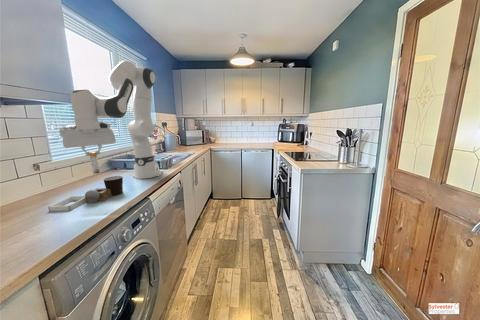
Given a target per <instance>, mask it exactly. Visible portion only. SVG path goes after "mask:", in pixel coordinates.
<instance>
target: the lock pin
mask: <svg viewBox="0 0 480 320" xmlns="http://www.w3.org/2000/svg"><path fill="white" fill-rule="evenodd" d="M89 154H90V156H89V160H90V164H91V169H92V174H94V175H95V174H101V171H100V164H99V158H98V155H97V154H96V151H93V152H89Z"/></svg>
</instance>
